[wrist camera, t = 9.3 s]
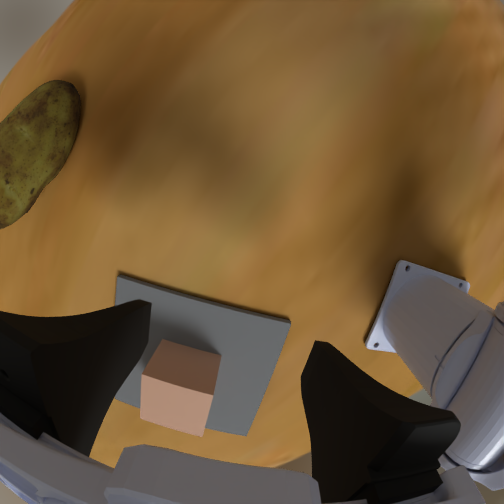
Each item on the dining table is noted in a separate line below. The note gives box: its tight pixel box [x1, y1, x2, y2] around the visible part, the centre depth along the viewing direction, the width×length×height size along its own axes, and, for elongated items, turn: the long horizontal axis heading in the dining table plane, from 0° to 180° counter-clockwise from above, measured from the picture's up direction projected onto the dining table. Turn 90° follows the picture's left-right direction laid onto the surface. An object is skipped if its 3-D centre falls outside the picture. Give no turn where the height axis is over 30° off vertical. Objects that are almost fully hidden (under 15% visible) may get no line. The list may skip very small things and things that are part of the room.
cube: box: [140, 339, 221, 437], centre depth 19 cm, size 5×5×5 cm
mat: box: [115, 275, 291, 436], centre depth 22 cm, size 14×14×1 cm
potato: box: [0, 80, 81, 229], centre depth 14 cm, size 8×13×8 cm, turn 123°
